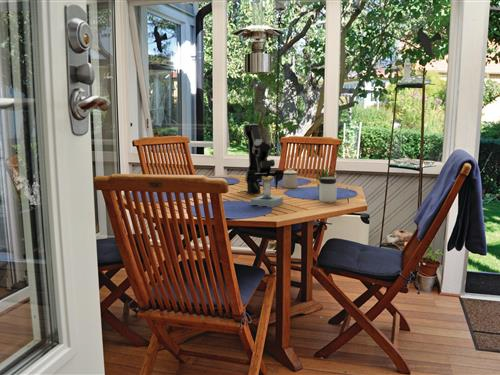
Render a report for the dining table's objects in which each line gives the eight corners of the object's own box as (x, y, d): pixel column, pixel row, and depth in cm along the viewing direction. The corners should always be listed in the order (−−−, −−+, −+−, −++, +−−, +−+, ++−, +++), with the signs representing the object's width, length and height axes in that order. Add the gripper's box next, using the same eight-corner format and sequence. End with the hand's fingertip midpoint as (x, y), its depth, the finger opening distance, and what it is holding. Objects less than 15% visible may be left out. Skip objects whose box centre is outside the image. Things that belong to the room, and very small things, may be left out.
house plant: (326, 199, 250) (327, 168, 248) (305, 196, 260) (305, 166, 257) (341, 195, 261) (341, 165, 258) (320, 192, 270) (320, 164, 267)
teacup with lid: (296, 185, 296) (296, 167, 294) (298, 188, 287) (298, 168, 285) (277, 186, 295) (277, 167, 293) (278, 188, 286) (278, 169, 284)
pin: (258, 203, 240) (259, 176, 238) (267, 202, 243) (268, 175, 241) (265, 205, 236) (265, 177, 233) (274, 204, 239) (274, 176, 236)
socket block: (250, 205, 237) (250, 199, 236) (261, 201, 247) (261, 195, 247) (272, 207, 231) (272, 201, 231) (282, 203, 241) (282, 197, 241)
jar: (317, 201, 244) (317, 178, 242) (320, 198, 252) (321, 176, 250) (334, 202, 241) (335, 179, 239) (337, 199, 249) (338, 177, 247)
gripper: (246, 154, 237) (251, 179, 228) (283, 153, 241) (288, 178, 232) (244, 168, 246) (248, 193, 237) (279, 167, 250) (284, 191, 241)
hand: (267, 188), depth 237 cm, fingers open, 9 cm apart
